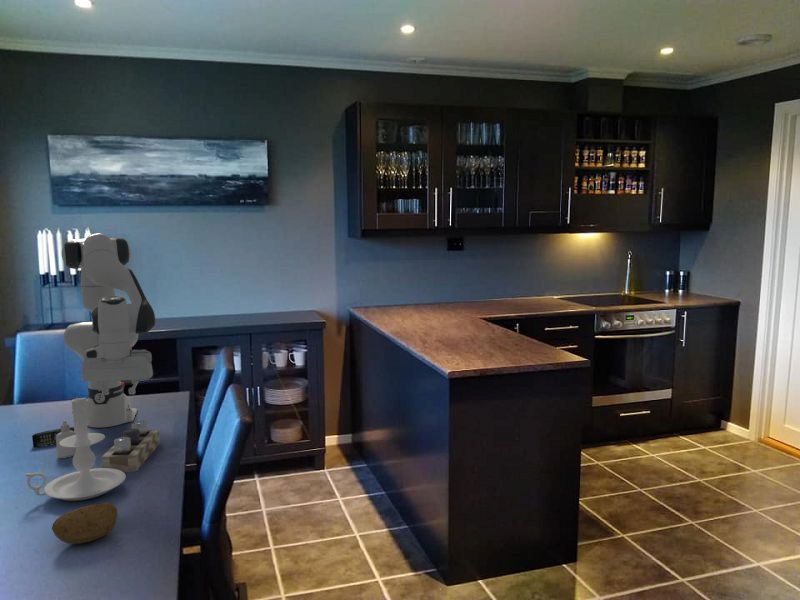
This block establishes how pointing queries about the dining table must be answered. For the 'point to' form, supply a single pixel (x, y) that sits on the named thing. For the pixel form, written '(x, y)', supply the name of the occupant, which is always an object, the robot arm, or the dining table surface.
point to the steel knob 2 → (140, 427)
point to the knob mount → (132, 454)
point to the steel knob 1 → (122, 446)
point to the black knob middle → (132, 436)
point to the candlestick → (80, 464)
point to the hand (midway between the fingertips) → (118, 394)
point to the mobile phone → (46, 437)
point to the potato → (85, 523)
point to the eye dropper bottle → (66, 432)
